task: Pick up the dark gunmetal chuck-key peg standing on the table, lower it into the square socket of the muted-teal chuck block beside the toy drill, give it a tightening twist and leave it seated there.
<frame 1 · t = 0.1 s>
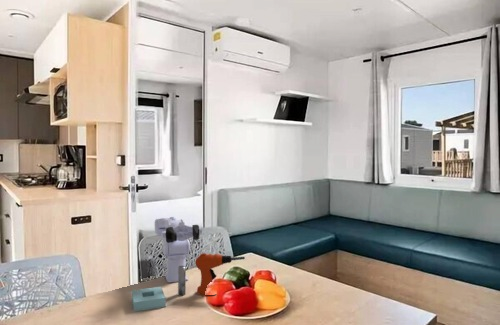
hand: (186, 236, 124), 22 cm above the table, tool horizontal, fingers open, 7 cm apart
toy drill: (219, 293, 128), on the table
chuck block: (148, 302, 120), on the table
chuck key: (181, 294, 127), on the table
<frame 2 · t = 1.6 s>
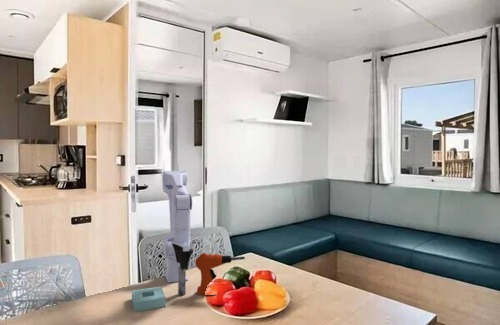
hand: (182, 265, 127), 10 cm above the table, tool pointing down, fingers open, 7 cm apart
nothing on the table moved.
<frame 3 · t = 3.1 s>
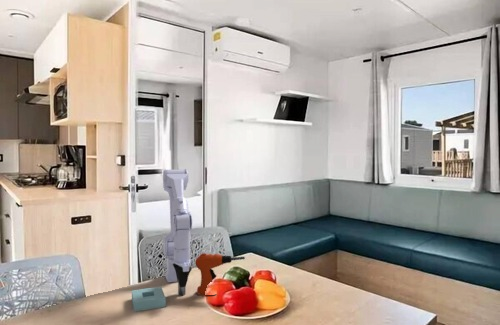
hand: (181, 284, 127), 3 cm above the table, tool pointing down, fingers closed on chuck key, 3 cm apart
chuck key: (181, 294, 127), on the table, touching gripper
everything else where it was.
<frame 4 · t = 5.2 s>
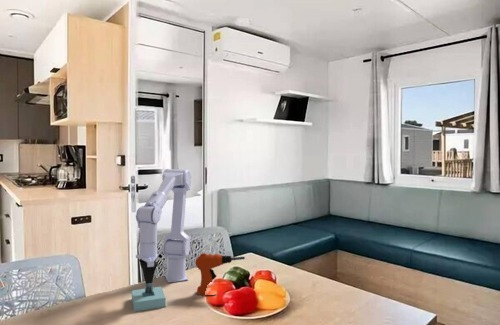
hand: (148, 281, 119), 7 cm above the table, tool pointing down, fingers closed on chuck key, 3 cm apart
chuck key: (148, 292, 120), point 4 cm above the table, touching gripper
everything else where it was.
when the fingers open (4 cm above the table, at t = 7.4 s): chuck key stays where it is, resting in chuck block.
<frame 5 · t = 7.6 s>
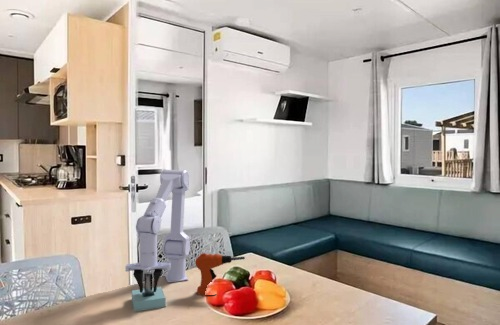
hand: (148, 291, 120), 4 cm above the table, tool pointing down, fingers open, 4 cm apart
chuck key: (148, 302, 120), resting in chuck block
everything else where it was.
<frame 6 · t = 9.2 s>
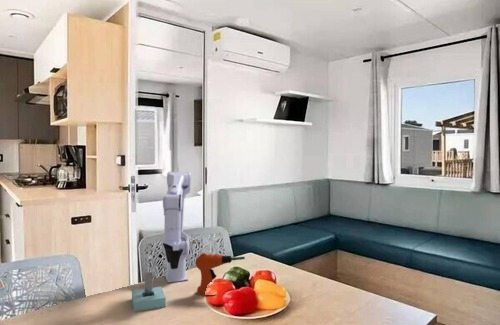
hand: (172, 265, 127), 10 cm above the table, tool pointing down, fingers open, 7 cm apart
nothing on the table moved.
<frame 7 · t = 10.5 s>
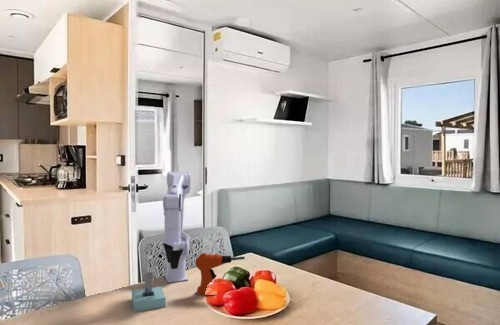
hand: (172, 265, 127), 10 cm above the table, tool pointing down, fingers open, 7 cm apart
nothing on the table moved.
at the end: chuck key 0.2 cm off-centre on the chuck block, point 0.0 cm above the chuck block's base; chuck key tilted 0°; the gripper is holding nothing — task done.
